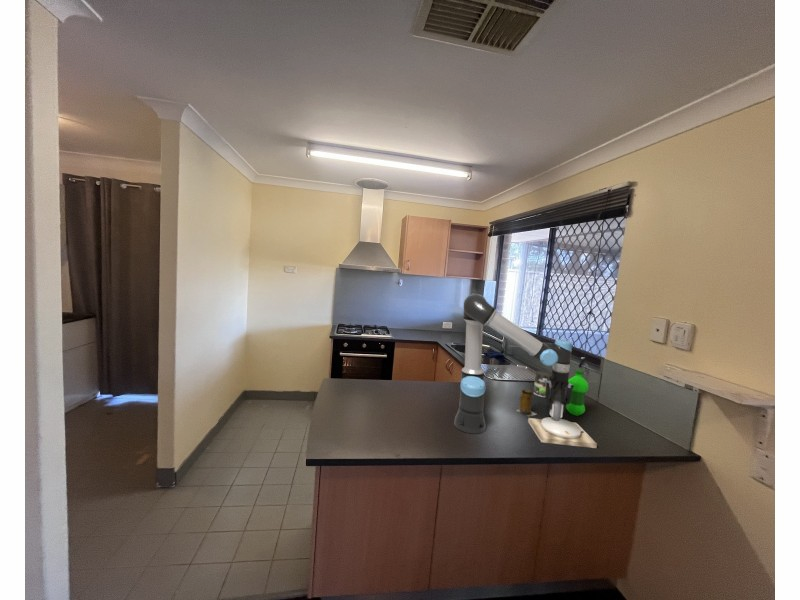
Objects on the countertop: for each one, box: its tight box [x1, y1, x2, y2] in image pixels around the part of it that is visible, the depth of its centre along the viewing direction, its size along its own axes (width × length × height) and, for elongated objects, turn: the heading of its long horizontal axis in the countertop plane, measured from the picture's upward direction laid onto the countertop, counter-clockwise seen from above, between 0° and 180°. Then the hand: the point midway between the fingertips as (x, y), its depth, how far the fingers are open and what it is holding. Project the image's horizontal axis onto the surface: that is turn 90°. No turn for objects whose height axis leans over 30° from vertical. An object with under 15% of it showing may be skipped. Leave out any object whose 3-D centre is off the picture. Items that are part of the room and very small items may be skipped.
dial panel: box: [527, 417, 598, 449], centre depth 151 cm, size 24×20×2 cm
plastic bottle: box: [565, 368, 589, 417], centre depth 175 cm, size 10×10×25 cm
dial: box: [541, 400, 581, 439], centre depth 151 cm, size 17×17×11 cm
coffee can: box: [532, 370, 553, 398], centre depth 202 cm, size 10×10×14 cm
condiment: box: [515, 389, 538, 417], centre depth 173 cm, size 7×8×12 cm
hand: (555, 415), depth 157 cm, fingers closed on dial, 4 cm apart
